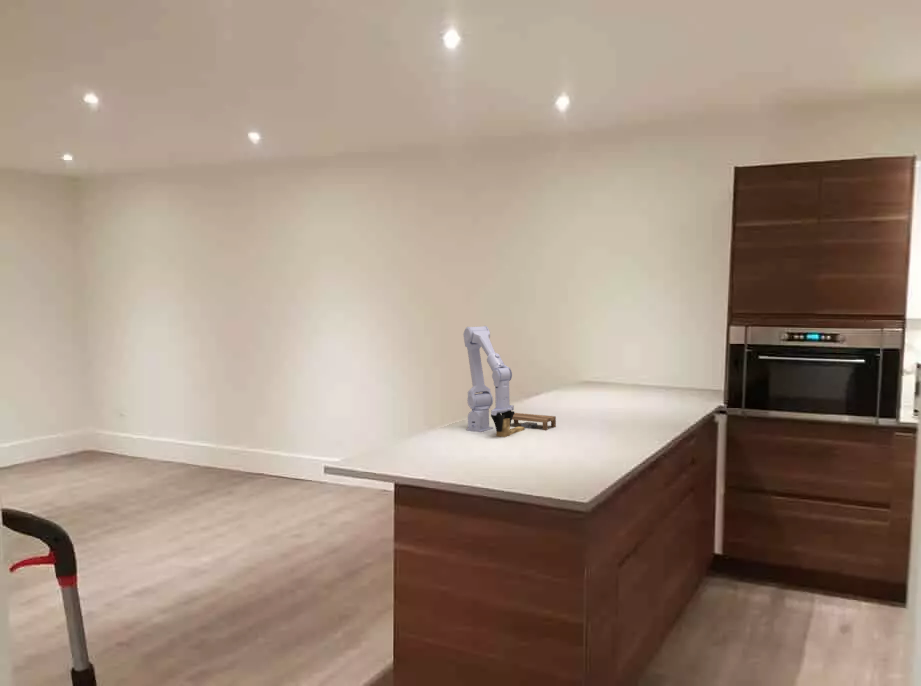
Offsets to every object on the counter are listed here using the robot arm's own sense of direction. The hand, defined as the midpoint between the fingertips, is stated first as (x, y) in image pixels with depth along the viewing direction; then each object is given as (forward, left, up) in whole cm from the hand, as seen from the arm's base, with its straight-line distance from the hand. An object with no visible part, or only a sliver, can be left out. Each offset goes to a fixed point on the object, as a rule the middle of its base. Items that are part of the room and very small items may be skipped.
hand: (503, 430), depth 304 cm
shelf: (+22, 0, -2) cm, 23 cm away
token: (+22, 0, -3) cm, 22 cm away
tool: (+6, 0, -2) cm, 7 cm away
